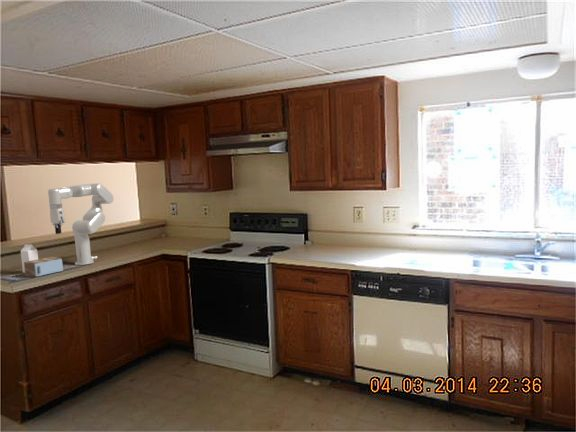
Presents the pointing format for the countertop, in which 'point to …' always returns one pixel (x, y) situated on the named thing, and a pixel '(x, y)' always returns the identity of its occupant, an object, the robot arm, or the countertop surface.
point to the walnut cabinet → (31, 269)
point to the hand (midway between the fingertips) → (58, 233)
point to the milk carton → (28, 254)
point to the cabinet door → (48, 267)
